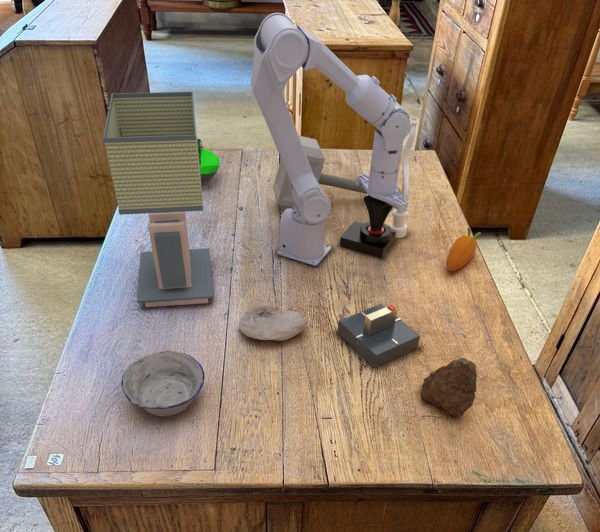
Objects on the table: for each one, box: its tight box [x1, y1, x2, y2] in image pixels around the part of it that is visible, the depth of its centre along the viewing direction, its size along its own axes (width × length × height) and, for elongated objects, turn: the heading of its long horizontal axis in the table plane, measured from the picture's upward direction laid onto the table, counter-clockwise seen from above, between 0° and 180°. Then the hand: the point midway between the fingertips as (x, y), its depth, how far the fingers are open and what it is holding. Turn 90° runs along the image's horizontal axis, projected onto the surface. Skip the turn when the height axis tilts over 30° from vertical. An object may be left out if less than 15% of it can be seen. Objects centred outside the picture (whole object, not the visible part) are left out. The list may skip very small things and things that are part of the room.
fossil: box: [238, 305, 309, 342], centre depth 104 cm, size 12×4×10 cm
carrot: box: [446, 227, 482, 272], centre depth 122 cm, size 5×5×15 cm
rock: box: [420, 357, 478, 418], centre depth 91 cm, size 10×6×10 cm
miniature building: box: [197, 138, 221, 185], centre depth 142 cm, size 12×12×11 cm
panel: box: [337, 303, 421, 369], centre depth 104 cm, size 11×10×3 cm
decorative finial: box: [388, 116, 418, 239], centre depth 122 cm, size 6×4×25 cm
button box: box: [339, 220, 396, 259], centre depth 126 cm, size 10×8×4 cm
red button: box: [367, 226, 384, 234], centre depth 125 cm, size 4×4×2 cm
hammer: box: [272, 134, 401, 210], centre depth 136 cm, size 15×8×30 cm
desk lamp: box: [102, 91, 215, 308], centre depth 103 cm, size 18×14×33 cm
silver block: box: [363, 304, 399, 336], centre depth 101 cm, size 6×2×4 cm, turn 123°
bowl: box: [120, 350, 205, 417], centre depth 92 cm, size 13×13×5 cm
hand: (376, 229), depth 124 cm, fingers closed, pressing on red button
